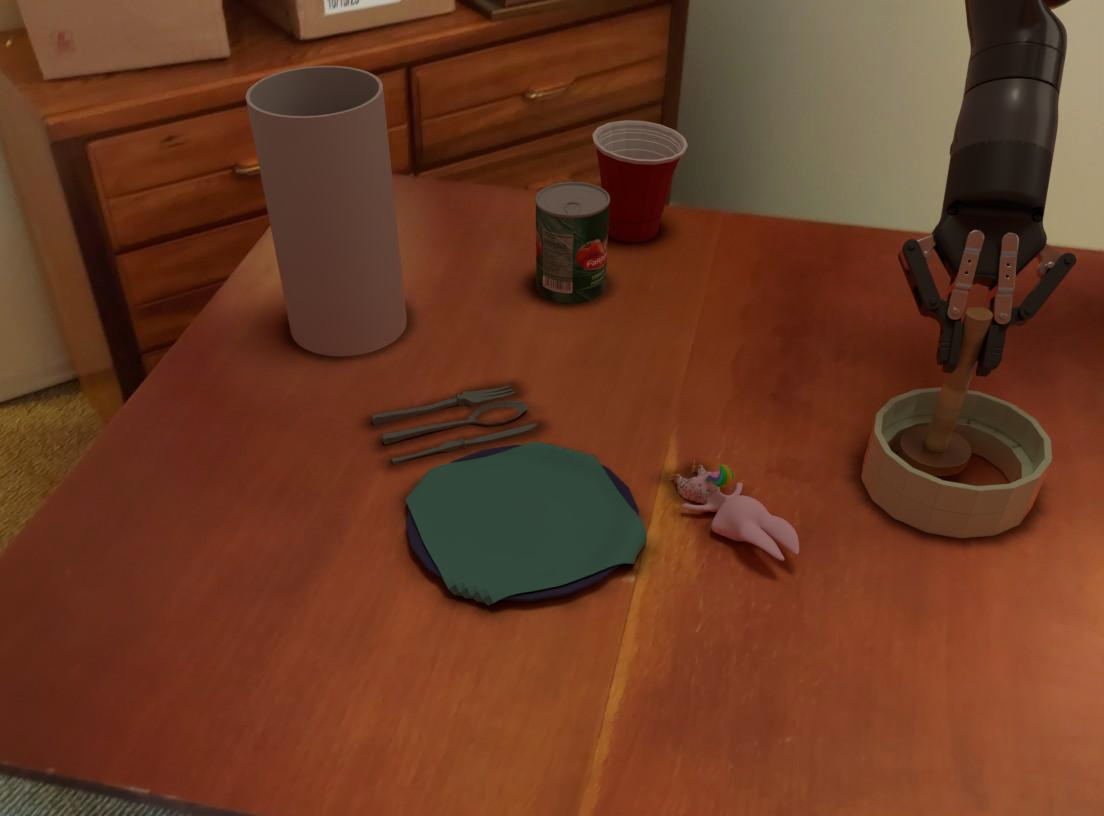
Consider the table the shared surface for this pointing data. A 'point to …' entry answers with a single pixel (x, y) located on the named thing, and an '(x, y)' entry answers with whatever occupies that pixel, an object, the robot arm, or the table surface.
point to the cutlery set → (515, 512)
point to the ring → (949, 504)
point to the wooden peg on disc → (948, 409)
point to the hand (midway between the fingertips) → (966, 371)
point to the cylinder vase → (331, 206)
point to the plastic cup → (637, 174)
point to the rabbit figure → (735, 511)
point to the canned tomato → (571, 242)
